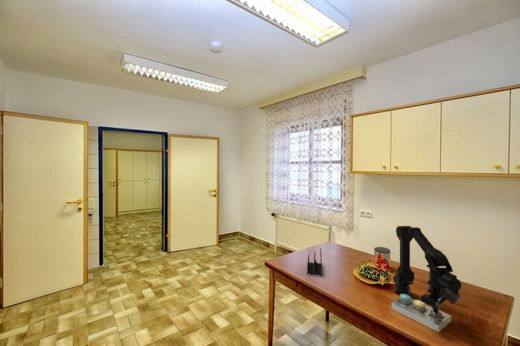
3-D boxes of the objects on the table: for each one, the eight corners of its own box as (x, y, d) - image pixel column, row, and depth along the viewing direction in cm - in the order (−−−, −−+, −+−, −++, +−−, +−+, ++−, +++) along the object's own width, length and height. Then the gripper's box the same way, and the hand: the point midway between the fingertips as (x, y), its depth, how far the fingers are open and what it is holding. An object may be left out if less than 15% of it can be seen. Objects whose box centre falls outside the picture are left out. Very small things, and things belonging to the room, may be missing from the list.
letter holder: (321, 264, 179) (321, 246, 179) (322, 277, 160) (322, 256, 160) (308, 263, 182) (308, 245, 181) (306, 275, 162) (306, 255, 162)
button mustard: (412, 310, 119) (412, 301, 119) (417, 307, 122) (417, 299, 122) (422, 314, 116) (422, 306, 115) (427, 311, 118) (427, 303, 118)
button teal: (398, 303, 125) (398, 295, 125) (402, 300, 128) (402, 292, 128) (407, 307, 121) (407, 299, 121) (412, 304, 124) (412, 296, 124)
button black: (428, 320, 114) (428, 312, 113) (432, 317, 116) (432, 308, 116) (439, 326, 110) (439, 317, 110) (444, 322, 112) (444, 313, 112)
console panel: (391, 308, 124) (391, 302, 124) (404, 300, 131) (404, 295, 131) (438, 332, 106) (438, 325, 106) (450, 321, 113) (450, 315, 113)
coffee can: (371, 265, 177) (371, 247, 176) (385, 265, 177) (385, 246, 176) (378, 272, 166) (379, 252, 166) (393, 271, 167) (393, 251, 166)
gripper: (449, 294, 100) (448, 330, 101) (465, 281, 110) (465, 314, 111) (419, 283, 110) (419, 316, 110) (437, 272, 120) (437, 303, 120)
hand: (436, 312), depth 113 cm, fingers closed, pressing on button black
